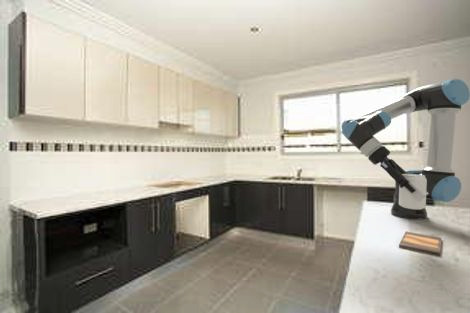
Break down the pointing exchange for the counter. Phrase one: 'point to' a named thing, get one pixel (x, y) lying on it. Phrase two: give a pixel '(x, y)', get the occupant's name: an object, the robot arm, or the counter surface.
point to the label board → (421, 243)
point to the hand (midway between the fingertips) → (423, 197)
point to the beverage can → (406, 198)
